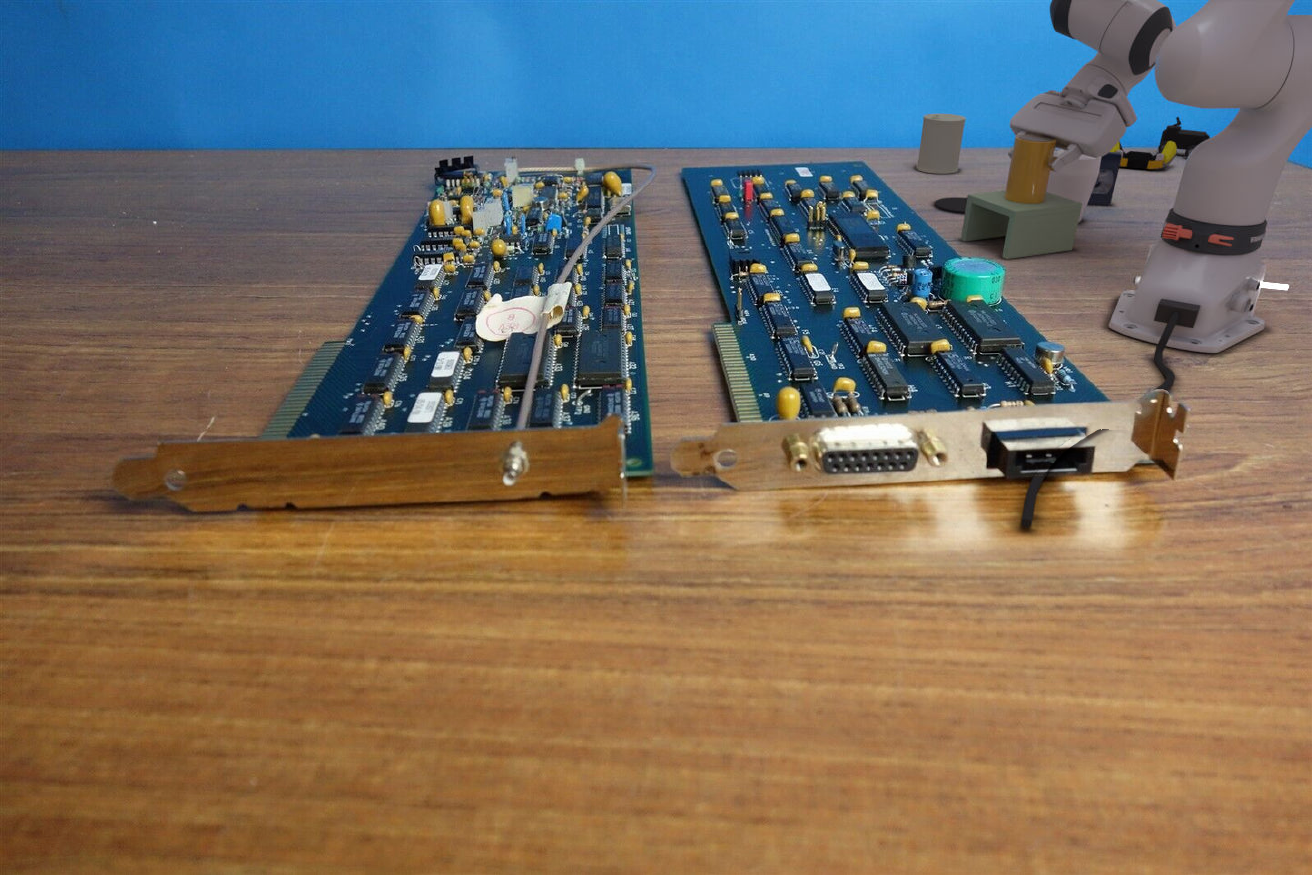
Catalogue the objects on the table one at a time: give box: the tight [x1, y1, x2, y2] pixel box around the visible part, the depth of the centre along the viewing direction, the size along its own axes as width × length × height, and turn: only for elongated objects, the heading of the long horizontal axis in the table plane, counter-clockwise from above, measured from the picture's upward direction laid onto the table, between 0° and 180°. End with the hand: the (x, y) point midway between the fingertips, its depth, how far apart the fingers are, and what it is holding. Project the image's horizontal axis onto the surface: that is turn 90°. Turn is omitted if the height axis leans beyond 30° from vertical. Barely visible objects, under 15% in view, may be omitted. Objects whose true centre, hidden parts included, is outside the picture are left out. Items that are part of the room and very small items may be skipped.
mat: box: [934, 196, 968, 215], centre depth 184 cm, size 11×11×1 cm
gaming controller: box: [1109, 139, 1178, 170], centre depth 216 cm, size 15×6×10 cm
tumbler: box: [1004, 134, 1057, 204], centre depth 156 cm, size 6×6×10 cm
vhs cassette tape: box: [1087, 152, 1122, 206], centre depth 186 cm, size 18×3×10 cm, turn 76°
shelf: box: [960, 189, 1082, 260], centre depth 160 cm, size 14×12×8 cm
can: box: [916, 113, 967, 175], centre depth 211 cm, size 9×9×12 cm
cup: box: [1046, 149, 1101, 223], centre depth 174 cm, size 9×9×12 cm
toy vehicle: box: [1157, 116, 1211, 159], centre depth 225 cm, size 8×15×9 cm, turn 54°
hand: (1031, 163), depth 156 cm, fingers open, 8 cm apart
